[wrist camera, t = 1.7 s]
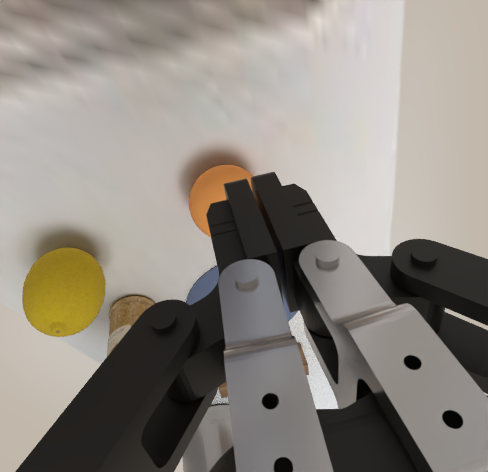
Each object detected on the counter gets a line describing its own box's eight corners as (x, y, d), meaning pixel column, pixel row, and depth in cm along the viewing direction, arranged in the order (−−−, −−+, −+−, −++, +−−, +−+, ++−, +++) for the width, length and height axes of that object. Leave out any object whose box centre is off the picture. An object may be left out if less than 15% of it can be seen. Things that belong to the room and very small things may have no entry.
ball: (242, 217, 34) (257, 260, 30) (178, 206, 32) (184, 250, 28) (265, 160, 31) (285, 198, 27) (196, 144, 29) (205, 182, 25)
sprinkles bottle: (105, 297, 37) (91, 447, 26) (156, 291, 37) (163, 434, 27) (113, 330, 39) (104, 477, 29) (161, 323, 40) (169, 465, 30)
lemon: (100, 284, 36) (91, 361, 29) (30, 273, 33) (5, 354, 27) (115, 236, 33) (110, 309, 27) (40, 220, 31) (15, 297, 24)
